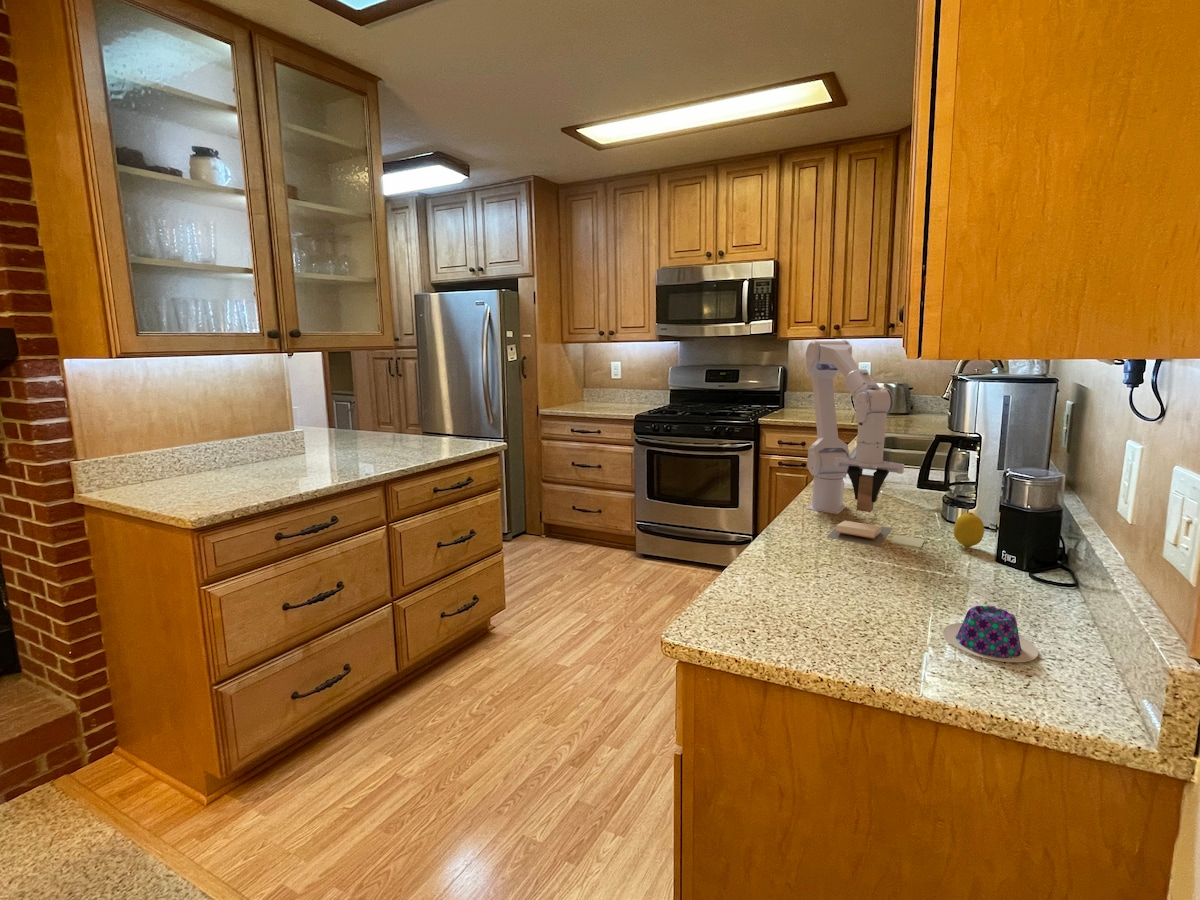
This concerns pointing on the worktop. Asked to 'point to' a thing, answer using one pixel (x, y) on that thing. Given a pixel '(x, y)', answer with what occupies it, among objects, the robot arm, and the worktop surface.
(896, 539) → the board
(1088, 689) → the worktop surface
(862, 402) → the robot arm
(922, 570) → the worktop surface
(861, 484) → the block
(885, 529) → the mat
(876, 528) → the tile
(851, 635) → the worktop surface
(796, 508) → the worktop surface
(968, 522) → the lemon
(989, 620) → the purple patterned hat
